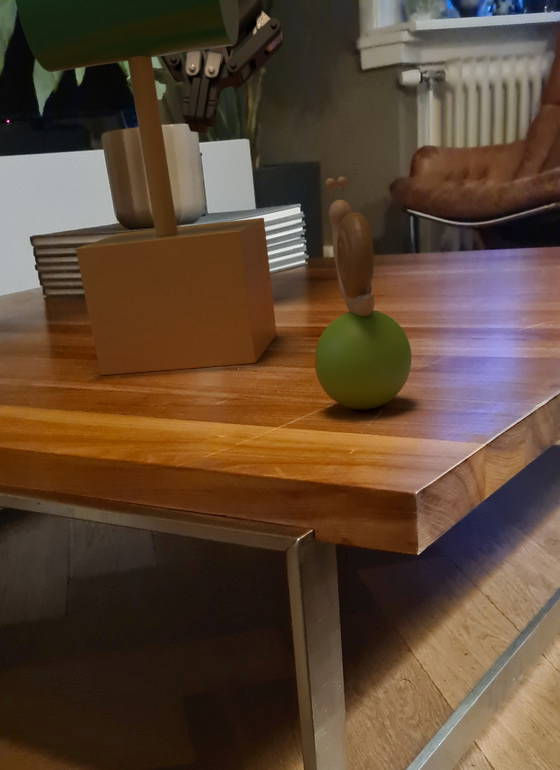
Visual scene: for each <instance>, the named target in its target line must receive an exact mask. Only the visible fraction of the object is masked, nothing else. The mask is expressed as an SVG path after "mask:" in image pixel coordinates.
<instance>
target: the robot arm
mask: <svg viewBox="0 0 560 770" xmlns="http://www.w3.org/2000/svg"><path fill="white" fill-rule="evenodd" d="M238 10H239V30H238V38H237V42H236V44H235V45H232V46H226V47H219V48H212V49H205V50H198V51H192V52H186V58H183V57H181V55H180V53H178V54H171V55H164V56H160V59H161V60H162V62H163V64H164V65H165V67H166V69H167V70H168V73H169V74H170V77H171V78H172V79H173V81H174V82H175V83H184V89H183V90H184V91H183V98H182V103H181V114H182V117H183V120H184V123H185V125H187V126H188V129H189V132H190V133H191V132H193V133H199V134H208V132H209V127H210V128H213V127H214V126H215V124H216V122H217V117H218V110H219V105H220V99H221V93H222V92H223V91H224V90H225V89H227V88H230V87H232V88H234V89H241V87H243V85H245V84H246V83H247V82H248V80H250V79H251V78H252V77H253V76H254V75H255V74H256V73H257V72H258V71H259V70H260V69H261V68H262V67H263V66H264V65H265V64H266V63H267V62H268V61H270V59H271V58H272V57H273V56H274V55H275V54H276V53H277V52H278V51H279V50H280V49H281V48H282V47H283V45H284V37H283V30H282V23H281V21H280V19H279V18H278V17H270V16H269V15H268V14H267V13H266V12H265V6H264V0H238ZM251 33H252V36H251V37H250V38H249V39H248V40H247V41H246V42H245V43H244V44H243V45H242V46H241V47H240V45H241V44H242V43H243V42H244V41H245V40H246V39H247V38H248V37H249V36H250V35H251ZM238 47H240V48H239V49H238V50H237V51H236V52H235V53H234V50H236V49H237V48H238ZM233 53H234V54H233Z"/></svg>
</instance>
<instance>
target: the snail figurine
mask: <svg viewBox="0 0 560 770" xmlns="http://www.w3.org/2000/svg"><path fill="white" fill-rule="evenodd" d="M336 184H337V186H338V187H339V188H341V196H342V199H337V200H334V201H333V189H334V188H335V187H336ZM347 185H348V180H347V178H346V177H345V176H340V177H338V179H337V182H336V180H335V179H334V178H332V177H329V178H327V179H326V180H325V187H326V188H327V189H329V194H330V207H329V210H328V218H329V221H330V224H331V235H332V238H331V240H332V251H333V260H334V265H335V270H336V276H337V281H338V287H339V292H340V295H341V296H342V299H343V301H344V303H345V306H346V308H347V310H348V312H345V313H342V314H341V315H339V316H338V317H336V318H335V319H334V320H332V321H331V322H330V323H329V324H328V325H327V326H326V327H325V328H324V330H323V332H322V333H321V335H320V337H319V339H318V341H317V344H316V348H315V351H314V370H315V374H316V378H317V380H318V382H319V385H320V386H321V388H322V389H323V391H324V392H325V393H326V395H328V397H329V398H330V399H332V401H334V402H336V403H337V404H339V405H340V406H342V407H345V408H348V409H352V410H358V411H359V410H361V411H362V410H363V411H364V410H365V411H366V410H372V409H376V408H379V407H381V406H383V405H385V404H387V403H389V402H390V401H391V400H393V399H394V398H395V397H396V396H397V395H398V394H399V393H400V392H401V390H402V389H403V388H404V386H405V384H406V382H407V380H408V378H409V374H410V373H411V368H412V360H413V359H412V349H411V348H412V347H411V343H410V341H409V339H408V335H407V334H406V332H405V330H404V329H403V328H402V327H401V325H400V324H399V323H398V322H397V321H396V320H395V319H394V318H392V316H389V315H388V314H386V313H384V312H381V311H378V310H374V308H375V298H374V296H373V295H372V288H373V287H372V282H373V276H374V267H375V263H374V262H375V258H374V257H375V256H374V255H375V254H374V253H375V252H374V243H373V236H372V231H371V227H370V224H369V221H368V220H367V217H366V216H364V215H363V214H362V213H360V212H359V211H353V212H352V207H351V206H350V204H349V202H347V200H345V193H344V187H346V186H347Z"/></svg>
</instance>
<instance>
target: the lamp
mask: <svg viewBox="0 0 560 770" xmlns="http://www.w3.org/2000/svg"><path fill="white" fill-rule="evenodd" d="M15 5H16V8H17V14H18V18H19V21H20V25H21V28H22V30H23V34H24V37H25V39H26V41H27V45H28V47H29V49H30V52H31V53H32V55H33V57H34V58H35V60H36V61H37V63H38V64H39V66H40V67H41V68H42V69H43V70H44V71H46V72H49V73H55V72H56V73H57V72H62V71H69V70H75V69H81V68H89V67H94V66H95V67H96V66H102V65H103V66H104V65H109V64H117V63H123V62H127V65H128V71H129V76H130V77H129V78H130V83H131V84H130V85H131V89H132V96H133V101H134V109H135V113H136V122H137V126H138V132H139V140H140V145H141V151H142V156H143V157H142V158H143V165H144V170H145V176H146V182H147V189H148V194H149V202H150V206H151V207H150V208H151V213H152V219H153V226H154V229H147V230H138V231H130V232H128V231H127V232H120V233H116V234H113V235H111V236H107V237H105V238H102V239H99V240H96V241H93V242H90V243H87V244H85V245H82V246H79V247H76V248H75V254H76V258H77V263H78V267H79V268H78V269H79V273H80V278H81V283H82V289H83V294H84V298H85V303H86V308H87V314H88V318H89V323H90V328H91V333H92V338H93V343H94V348H95V353H96V358H97V363H98V368H99V373H100V376H110V375H111V376H112V375H113V376H114V375H124V374H125V375H126V374H134V373H135V374H136V373H148V372H149V373H150V372H159V371H160V372H161V371H174V370H186V369H198V368H199V369H200V368H213V367H223V366H224V367H225V366H235V365H249V364H256V363H257V362H258V360H259V359H260V358H261V356H262V355H263V354H264V352H265V351H266V350H267V349H268V347H270V345H271V343H272V342H273V340H274V339H275V338H276V337H277V335H278V334H277V326H276V316H275V307H274V298H273V290H272V280H271V271H270V260H269V252H268V251H269V250H268V242H267V234H266V226H265V218H264V217H257V218H256V217H255V218H248V219H238V220H229V221H221V222H220V221H219V222H210V223H203V224H192V225H185V226H184V225H183V226H178V225H177V218H176V212H175V211H176V210H175V205H174V198H173V192H172V185H171V178H170V172H169V165H168V159H167V158H168V157H167V151H166V146H165V138H164V131H163V125H162V119H161V111H160V105H159V98H158V91H157V85H156V79H155V71H154V66H153V65H154V64H153V58H157V57H161V56H164V55H171V54H178V53H179V54H185V53H187V52H192V51H198V50H205V49H212V48H219V47H226V46H232V45H235V44H236V42H237V38H238V30H239V10H238V0H15Z"/></svg>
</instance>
